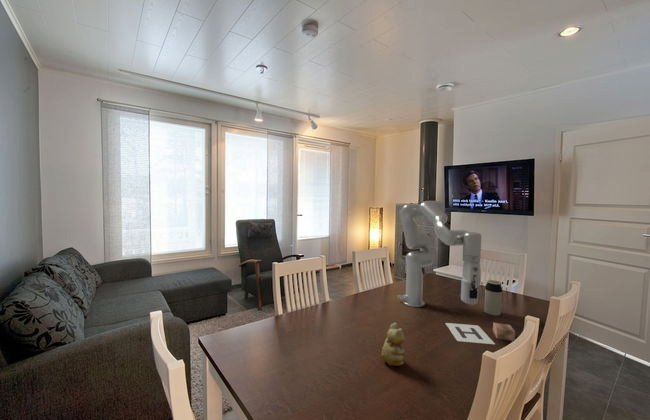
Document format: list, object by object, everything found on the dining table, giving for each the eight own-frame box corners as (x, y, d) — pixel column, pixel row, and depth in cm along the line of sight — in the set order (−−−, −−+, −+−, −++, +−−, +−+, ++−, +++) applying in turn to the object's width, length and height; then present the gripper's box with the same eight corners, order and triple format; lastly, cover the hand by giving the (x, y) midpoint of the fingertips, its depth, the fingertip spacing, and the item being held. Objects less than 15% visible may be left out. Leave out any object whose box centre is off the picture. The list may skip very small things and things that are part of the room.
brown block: (496, 339, 128) (497, 328, 128) (492, 332, 135) (493, 322, 135) (514, 342, 126) (515, 331, 126) (509, 335, 133) (510, 324, 133)
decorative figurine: (408, 368, 105) (410, 329, 104) (388, 372, 102) (390, 332, 101) (394, 354, 114) (396, 318, 113) (376, 357, 111) (377, 320, 111)
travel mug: (502, 317, 153) (504, 284, 152) (485, 314, 156) (487, 282, 155) (498, 311, 160) (500, 280, 159) (482, 309, 163) (484, 278, 162)
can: (457, 299, 137) (458, 275, 136) (471, 299, 138) (473, 275, 137) (466, 305, 129) (467, 279, 129) (481, 305, 130) (483, 279, 130)
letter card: (457, 341, 125) (457, 340, 125) (445, 323, 143) (445, 322, 143) (495, 345, 123) (495, 344, 123) (478, 326, 141) (478, 325, 141)
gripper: (488, 263, 124) (486, 302, 124) (472, 255, 141) (470, 289, 142) (470, 262, 124) (468, 301, 125) (456, 254, 142) (454, 288, 142)
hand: (469, 294), depth 133 cm, fingers closed on can, 7 cm apart
